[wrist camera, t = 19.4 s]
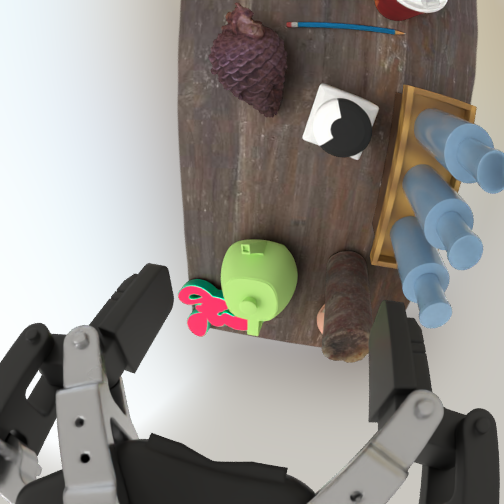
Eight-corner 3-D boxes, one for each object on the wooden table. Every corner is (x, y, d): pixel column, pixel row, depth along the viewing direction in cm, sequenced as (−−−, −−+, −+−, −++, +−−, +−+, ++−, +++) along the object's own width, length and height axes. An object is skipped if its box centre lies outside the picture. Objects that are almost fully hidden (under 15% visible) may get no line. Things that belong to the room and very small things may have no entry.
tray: (390, 82, 34) (408, 85, 26) (447, 98, 33) (476, 107, 25) (365, 229, 48) (371, 264, 40) (415, 238, 47) (429, 274, 39)
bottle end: (387, 218, 38) (410, 298, 25) (427, 213, 36) (465, 289, 23) (390, 254, 40) (407, 338, 28) (427, 249, 38) (457, 331, 26)
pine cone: (314, 104, 39) (275, 135, 35) (262, 103, 45) (221, 131, 41) (281, -8, 27) (229, 2, 23) (227, 7, 33) (175, 24, 29)
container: (371, 101, 37) (388, 112, 26) (353, 147, 42) (363, 174, 31) (321, 82, 37) (319, 84, 27) (305, 129, 42) (297, 149, 31)
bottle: (410, 146, 32) (457, 197, 19) (417, 102, 28) (474, 126, 16) (449, 157, 31) (509, 212, 18) (457, 114, 27) (527, 149, 15)
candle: (340, 239, 51) (340, 325, 34) (374, 257, 51) (386, 345, 35) (319, 270, 55) (309, 356, 39) (352, 286, 55) (352, 373, 39)
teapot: (224, 211, 53) (197, 250, 43) (301, 215, 50) (292, 259, 40) (234, 297, 64) (215, 342, 54) (297, 304, 61) (288, 353, 51)
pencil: (287, 22, 33) (286, 21, 32) (405, 31, 29) (406, 31, 29) (287, 27, 33) (286, 26, 33) (405, 36, 30) (406, 36, 29)
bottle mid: (399, 166, 33) (438, 227, 21) (440, 162, 31) (496, 220, 19) (403, 207, 36) (435, 284, 23) (442, 203, 34) (488, 275, 21)
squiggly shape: (195, 328, 73) (190, 334, 71) (177, 275, 65) (171, 281, 63) (272, 343, 65) (268, 351, 64) (263, 287, 57) (259, 294, 55)
